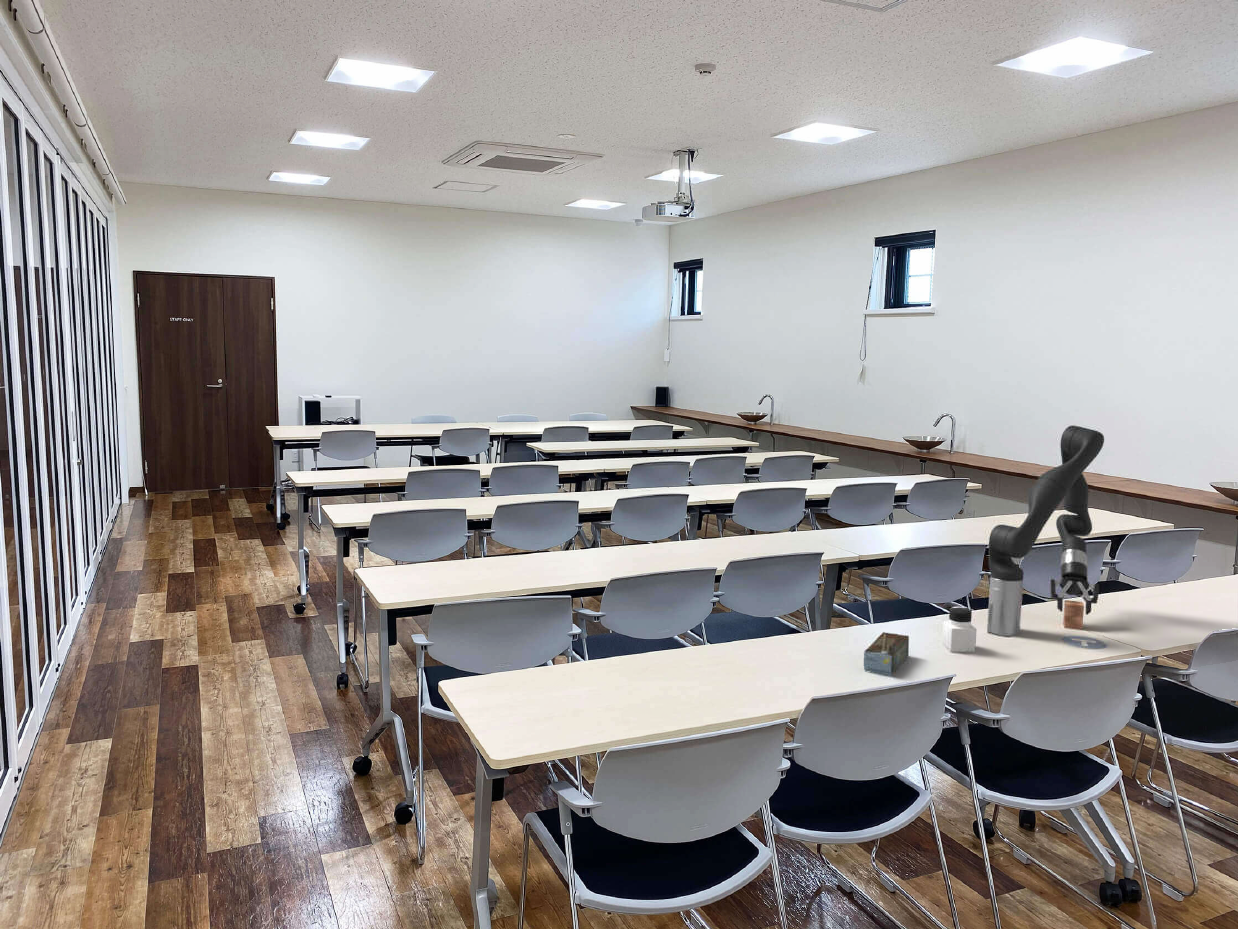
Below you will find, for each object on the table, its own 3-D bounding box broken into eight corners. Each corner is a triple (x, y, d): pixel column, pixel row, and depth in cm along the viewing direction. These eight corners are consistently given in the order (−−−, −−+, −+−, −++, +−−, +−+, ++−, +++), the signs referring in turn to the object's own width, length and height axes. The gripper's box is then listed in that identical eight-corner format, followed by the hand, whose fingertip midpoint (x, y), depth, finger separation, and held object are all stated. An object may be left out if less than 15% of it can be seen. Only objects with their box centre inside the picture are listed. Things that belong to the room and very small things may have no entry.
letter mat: (1062, 646, 257) (1062, 645, 257) (1060, 634, 268) (1060, 633, 268) (1109, 652, 252) (1109, 651, 252) (1104, 640, 263) (1104, 639, 263)
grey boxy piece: (861, 671, 236) (862, 648, 235) (881, 651, 252) (882, 629, 251) (891, 677, 232) (892, 653, 231) (909, 657, 248) (910, 634, 247)
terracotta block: (1064, 629, 273) (1065, 604, 272) (1063, 624, 278) (1064, 600, 277) (1082, 631, 271) (1084, 606, 270) (1080, 626, 276) (1082, 602, 275)
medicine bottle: (975, 652, 251) (977, 612, 249) (950, 652, 251) (952, 612, 250) (966, 644, 258) (968, 605, 257) (941, 644, 258) (944, 604, 257)
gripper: (1050, 558, 282) (1049, 603, 273) (1100, 562, 276) (1101, 608, 267) (1048, 570, 287) (1047, 615, 278) (1097, 575, 282) (1098, 620, 272)
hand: (1074, 611), depth 272 cm, fingers open, 6 cm apart
